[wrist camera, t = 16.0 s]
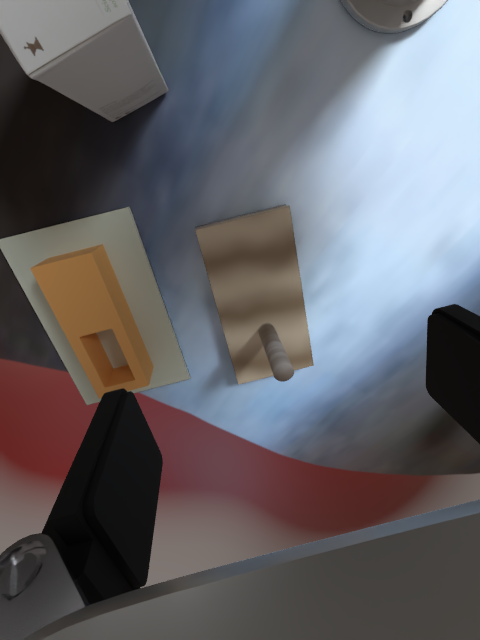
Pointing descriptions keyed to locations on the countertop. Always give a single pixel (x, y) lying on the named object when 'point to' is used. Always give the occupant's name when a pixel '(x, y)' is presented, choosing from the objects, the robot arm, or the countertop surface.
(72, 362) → the mat
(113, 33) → the skincare box
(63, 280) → the link
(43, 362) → the countertop surface
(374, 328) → the countertop surface
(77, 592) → the robot arm
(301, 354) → the peg base
